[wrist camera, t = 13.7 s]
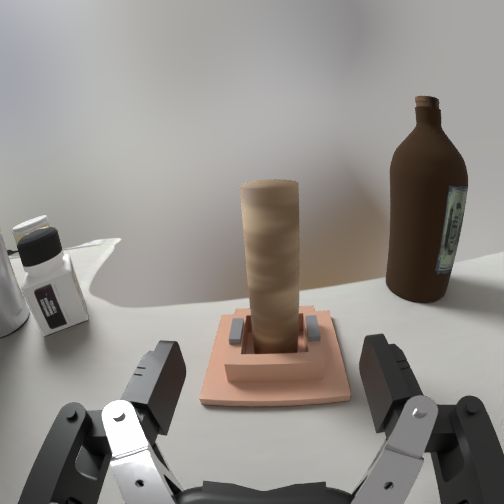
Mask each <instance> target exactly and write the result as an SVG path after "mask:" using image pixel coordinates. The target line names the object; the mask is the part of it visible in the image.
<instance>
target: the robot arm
mask: <svg viewBox="0 0 504 504" xmlns="http://www.w3.org/2000/svg"><path fill="white" fill-rule="evenodd" d="M28 316H29V309H28V307H27V305H26V303H25V300H24V298H23V295H22V293H21V291H20V288H19V285H18V283H17V280H16V277H15V275H14V272H13V269H12V266H11V263H10V260H9V257H8V254H7V251H6V248H5V244H4V241H3V237H2V234H1V230H0V337H2V336H6V335H8V334H10V333H12V332H13V331H15V330H16V329H18V328H19V327H20V326H21V325H22V324H23V323H24V322H25V321H26V319H27V318H28ZM359 370H360V375H361V379H362V382H363V385H364V389H365V392H366V396H367V399H368V403H369V407H370V410H371V414H372V418H373V422H374V426H375V430H376V433H381V432H385V434H386V439H385V441H384V443H383V444H382V446H381V448H380V450H379V452H378V453H377V455H376V457H375V459H374V460H373V462H372V464H371V465H370V467H369V469H368V470H367V472H366V473H365V475H364V476H363V478H362V479H361V481H360V482H359V483H358V485H357V486H356V488H355V489H354V490H353V492H352V493H351V494H350V493H347V492H345V491H342V490H339V489H335V488H329V487H326V482H317V483H305V484H294V485H290V486H286V487H282V488H278V489H273V490H269V491H259V490H255V489H251V488H247V487H243V486H239V485H236V484H231V483H219V482H210V481H203V486H202V487H195V488H191V489H187V490H184V489H183V488H182V486H181V485H180V483H179V482H178V480H177V479H176V478H175V476H174V475H173V473H172V471H171V469H170V467H169V466H168V464H167V462H166V460H165V458H164V456H163V454H162V452H161V450H160V448H159V446H158V444H157V442H156V438H157V435H158V434H160V435H166V436H167V433H168V430H169V427H170V424H171V421H172V417H173V414H174V411H175V408H176V405H177V402H178V399H179V396H180V393H181V390H182V387H183V384H184V381H185V378H186V366H185V363H184V359H183V356H182V353H181V350H180V347H179V344H178V342H176V341H159V343H158V344H157V346H156V348H155V350H154V351H149V352H148V353H147V354H145V355H144V356H143V357H142V358H141V360H140V362H139V364H138V366H137V368H136V370H135V371H134V375H132V377H131V379H130V381H129V383H128V385H127V387H126V389H125V391H124V393H123V395H122V397H121V399H120V401H115V402H112V403H110V404H109V405H107V406H106V407H105V409H104V410H97V411H86V409H85V408H84V407H83V406H82V405H81V404H79V403H76V402H73V403H69V404H66V405H65V406H64V407H62V409H61V410H60V412H59V414H58V415H57V417H56V419H55V421H54V423H53V425H52V427H51V429H50V431H49V433H48V435H47V437H46V439H45V441H44V443H43V445H42V447H41V449H40V452H39V454H38V456H37V458H36V460H35V462H34V465H33V467H32V469H31V472H30V474H29V476H28V479H27V481H26V484H25V486H24V489H23V491H22V494H21V497H20V499H19V502H18V504H97V502H98V499H99V495H100V492H101V489H102V485H103V482H104V479H105V476H106V473H107V470H108V467H109V464H111V467H112V470H113V473H114V476H115V479H116V481H117V484H118V486H119V489H120V492H121V494H122V496H123V499H124V501H125V504H404V502H405V500H406V498H407V496H408V494H409V492H410V490H411V488H412V486H413V484H414V482H415V480H416V478H417V476H418V474H419V472H420V470H421V467H422V465H423V462H424V458H422V456H423V453H425V452H430V453H431V457H432V461H433V466H434V470H435V475H436V479H437V484H438V490H439V495H440V501H441V504H504V454H503V451H502V448H501V445H500V443H499V440H498V437H497V435H496V432H495V430H494V427H493V425H492V422H491V420H490V418H489V415H488V413H487V411H486V409H485V407H484V404H483V403H482V401H481V400H480V399H478V398H477V397H474V396H465V397H463V398H461V399H460V400H459V401H458V403H457V404H456V405H438V404H436V403H435V402H434V400H432V399H431V398H429V397H427V396H424V395H423V393H422V391H421V389H420V387H419V384H418V382H417V380H416V378H415V376H414V374H413V372H412V369H410V365H409V363H408V361H407V359H406V357H405V355H404V353H403V351H402V350H401V349H400V348H399V347H398V346H396V345H395V344H388V342H387V340H386V338H385V336H384V334H376V335H368V336H366V337H365V339H364V344H363V348H362V353H361V357H360V362H359ZM81 446H82V447H81ZM80 448H81V450H80ZM79 451H80V452H79ZM78 453H79V455H78ZM112 455H113V458H112ZM77 456H78V457H77ZM76 458H77V460H76ZM75 461H76V462H75Z"/></svg>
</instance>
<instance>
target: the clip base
mask: <svg viewBox="0 0 504 504" xmlns="http://www.w3.org/2000/svg"><path fill="white" fill-rule="evenodd" d="M350 396H351V393H350V388H349V384H348V380H347V376H346V372H345V368H344V364H343V360H342V356H341V353H340V349H339V345H338V341H337V338H336V334H335V330H334V327H333V323H332V320H331V316H330V313H329V311H315V309H314V306H299V324H298V351H297V353H281V354H254V343H253V333H252V322H251V311H250V308H248V309H235V314H234V315H222V316H221V320H220V323H219V327H218V331H217V335H216V338H215V342H214V346H213V349H212V353H211V357H210V361H209V364H208V368H207V372H206V376H205V380H204V383H203V387H202V391H201V395H200V401H201V404H206V405H222V406H295V405H310V404H322V403H332V402H341V401H349V400H350Z"/></svg>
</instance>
